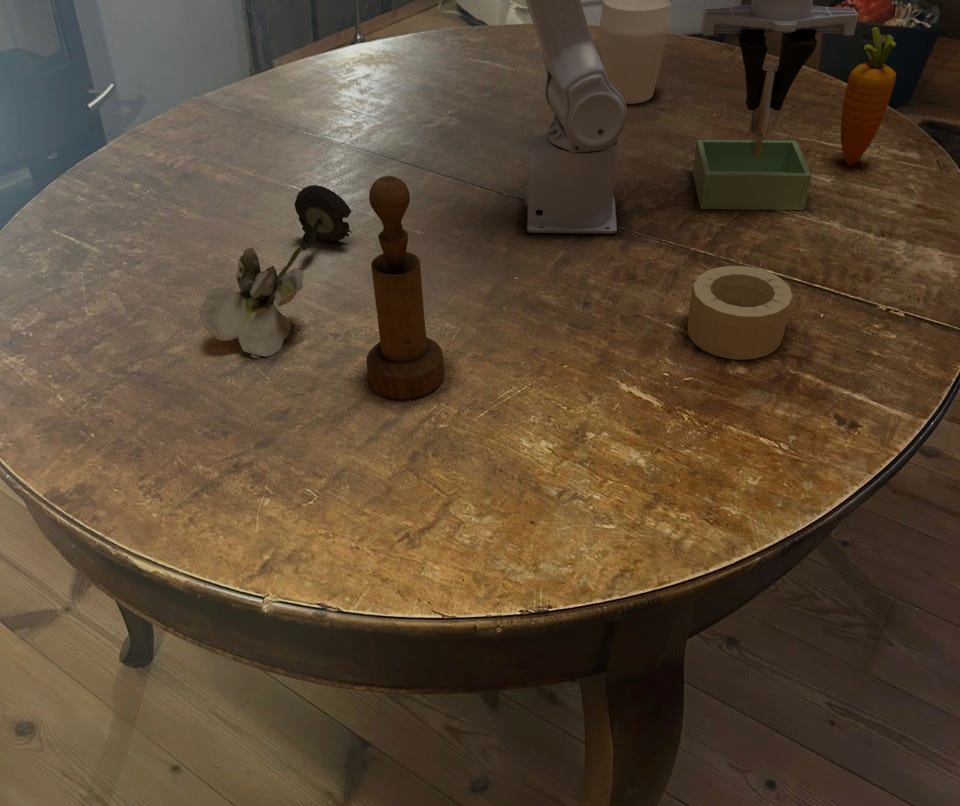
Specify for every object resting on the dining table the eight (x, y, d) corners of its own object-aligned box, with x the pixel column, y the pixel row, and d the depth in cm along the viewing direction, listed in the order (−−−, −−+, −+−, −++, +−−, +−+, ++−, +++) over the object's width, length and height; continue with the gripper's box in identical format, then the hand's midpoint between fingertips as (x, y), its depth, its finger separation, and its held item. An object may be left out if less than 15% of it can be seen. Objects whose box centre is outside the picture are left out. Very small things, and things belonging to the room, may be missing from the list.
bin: (700, 209, 102) (705, 174, 99) (692, 172, 109) (697, 139, 106) (803, 210, 101) (811, 175, 99) (789, 173, 108) (796, 140, 105)
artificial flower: (372, 254, 99) (382, 177, 91) (267, 394, 85) (268, 318, 77) (297, 222, 99) (301, 142, 91) (181, 356, 86) (173, 276, 78)
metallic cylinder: (747, 158, 99) (762, 72, 93) (743, 147, 101) (758, 63, 95) (766, 158, 99) (782, 73, 93) (762, 147, 101) (778, 63, 95)
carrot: (874, 176, 107) (911, 39, 97) (829, 173, 108) (862, 37, 98) (869, 158, 111) (905, 24, 101) (826, 155, 112) (857, 22, 101)
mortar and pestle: (405, 346, 84) (387, 153, 72) (459, 372, 81) (450, 174, 69) (353, 381, 80) (324, 183, 68) (408, 410, 77) (388, 208, 65)
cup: (585, 88, 129) (590, -6, 121) (644, 80, 131) (653, -13, 123) (611, 111, 123) (618, 14, 115) (672, 102, 125) (684, 6, 117)
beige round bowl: (691, 358, 81) (698, 315, 78) (683, 307, 88) (689, 264, 85) (789, 361, 81) (799, 317, 78) (773, 309, 87) (783, 266, 84)
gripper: (715, -27, 85) (695, 121, 94) (878, -28, 84) (842, 122, 93) (707, -47, 90) (689, 95, 99) (861, -48, 89) (828, 96, 98)
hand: (762, 106), depth 96 cm, fingers closed on metallic cylinder, 2 cm apart
